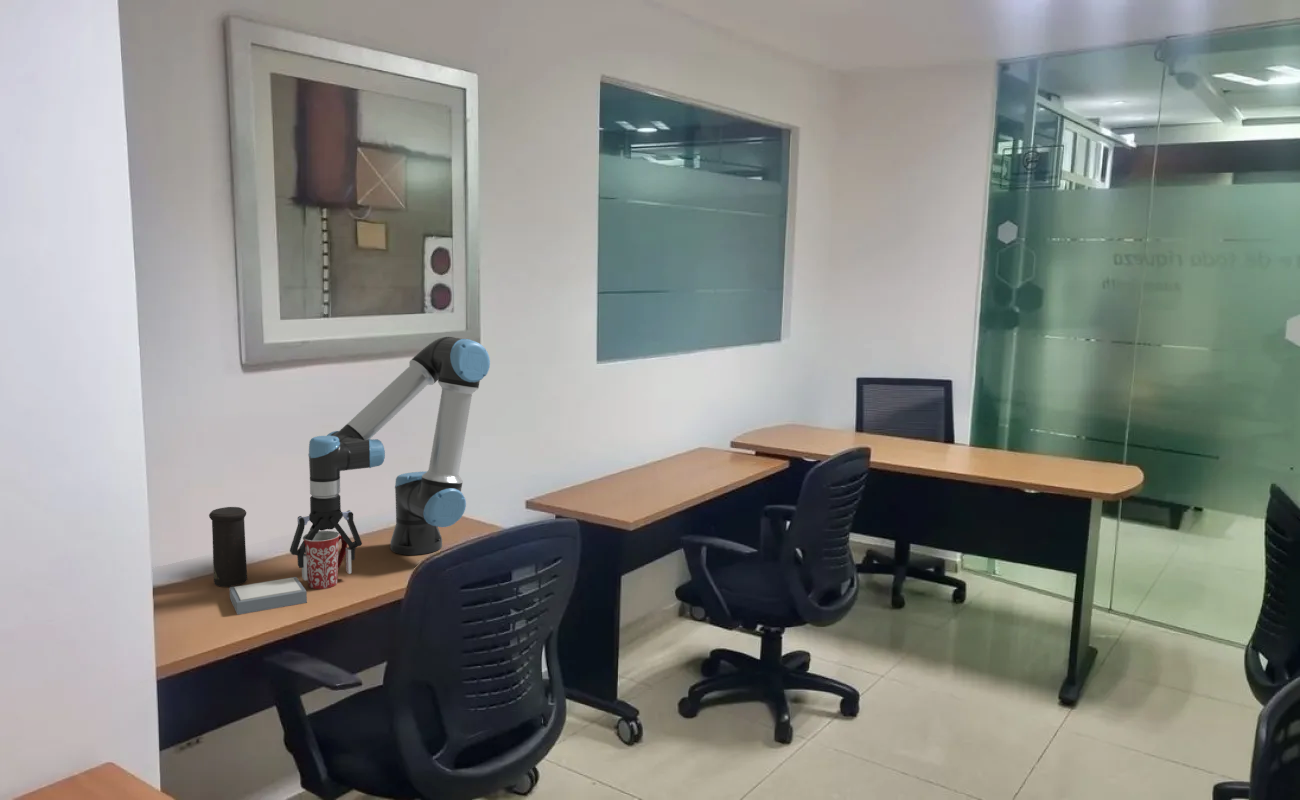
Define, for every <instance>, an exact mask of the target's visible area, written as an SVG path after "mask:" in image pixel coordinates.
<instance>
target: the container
mask: <svg viewBox="0 0 1300 800" xmlns="http://www.w3.org/2000/svg"><path fill="white" fill-rule="evenodd" d="M246 515H247V511H246V510H245V509H244V508H242V507H240V506H239V507H238V506H226V507H225V506H224V507H220V508H215V509H213V510H212V511H211V512H210V513H209V514H208V516H209V519H210V520H211V532H212V564H213V565H212V566H213V569H212V570H213V584H214V585H215V586H217V587H222V588H224V587H226V588H228V587H235V586H241V585H244V584H245V583H247V581H248V566H247V549H246V527H245V517H246Z"/></svg>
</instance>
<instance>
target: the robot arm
mask: <svg viewBox="0 0 1300 800" xmlns="http://www.w3.org/2000/svg"><path fill="white" fill-rule="evenodd" d="M490 365H491V359H490V355H489V352H488V351H487V349H486V348H485V346H484V345H482V344H481V343H479V342H477V341H475V340H472V339H470V338H468V339H467V338H459V337H454V336H443V337H440V338H437V339H435V340H433V341H432V342H431V343H429V344H428V345H426V346H425V347H423V348H422V349H421V350H420V351H419V352H418V353H417V354H415V356H414V357H413V358H411V359H410V360H409V365H408V367H407V368H406V369H405V370H404V371H402V373H400V374H399V375H398V376H397V377H396V378H395V379H394V380H393V381H392V382H391V383H390V384H388V385H387V387H385V388H384V389H383V390H382V391H381V392H380V393H379V394H378V395H376V396H375V398H373V399H372V400H371V401H370V402H369V403H368V404H367V405H366V406H365V407H364V408H362V410H361V411H360V412H358V413H357V414H356V415H355V416H354V417H353V418H352V419H351V420H349V422H347V423H346V424H345V425H344V426H343V427H341V428H340V430H335V431H331V432H329V433H328V434H327V435H318V436H317V435H316V436H313V437H311V439H310V440H309V444H308V464H309V465H308V466H309V495H310V498H309V507H310V511H309V514H308V516H306V515H305V516H302V515H299V516H297V526H296V530H295V532H294V536H293V539H292V541H291V545H290V548H289V553H290V554H291V555H293V556H297V566H298V568H299V569H301V578H302V579H303V581H308V576H307V557H306V555H305V552H306V548H305V544H304V540H303V541H302V542H301V539H302V538H303V533H304V531H305V526H307V525H308V522H310V523H312V525H310V528H309V531H308V533H307V536H306V538H305V539H306V540H311V541H312V540H313V538H314V537H315V535H316V534H317V533H318V531H327V530H334V529H336V532H337V533H339V534H340V536H342V538H343V539H344V540H345V542H346V543H347V548H346V554H345V571H346V572H347V574H349V575H350V574H352V561H354V560H355V559H356V549H357V547H360V546H362V545H363V542H362V540H361V538H360V534H359V532H358V529H357V526H356V525H355V521H354V513H353V512H352V511H351V510H350V509H348V510H347V511H342V509H341V508H342V506H341V495H340V493H341V472H343V471H351V470H361V469H371V468H375V467H380V466H381V465H383V463H384V462H385V457H386V454H385V453H386V452H385V451H386V450H385V446H384V444H383V442H382V441H381V440H380V439H373V437H375V435H376V434H377V433H378V432H379V431H380V430H382V428H383V427H384V426H386V425H387V424H388V422H390V421H391V420H392V419H393V418H394V417H395V416H396V415H398V413H400V411H401V410H403V408H405V407H406V406H407V405H408V404H409V403H410V402H411V401H412V400H413V399H414V398H415V397H416V396H418V395H419V394H420V393H421V392H422V391H423V390H424V389H425V388H426V387H427V386H429V385H430V386H432V385H435V384H436V382H437V383H438V385H439V386H440V387H441V395H440V399H439V404H438V406H439V407H438V412H437V418H436V424H435V430H434V437H433V441H432V442H433V443H432V447H431V453H430V459H429V465H428V470H427V471H415V472H406V473H401V474H399V475H397V476H396V478H395V484H394V489H395V490H394V491H395V494H394V495H395V525H394V526H395V527H394V529H393V532H392V535H391V538H390V551H392V552H393V553H395V554H400V555H404V556H405V555H406V556H407V555H408V556H409V555H410V556H415V555H427V554H430V553H431V554H432V553H434V552H437V551H439V550H441V548H442V547H443V538H442V535H441V532H440V529H439V528H447V527H451V526H453V525H455V523H457V522H458V521H460V519H462V517H463V516H464V514H465V511H466V507H467V502H466V501H467V500H466V498H465V496H464V494H463V492H462V486H463V480H462V478H461V477H460V474H459V473H460V467H461V462H462V456H463V450H464V443H465V437H466V430H467V427H468V426H467V425H468V420H469V414H470V409H471V402H472V397H473V394H474V393H475V392H476V391H478V390H479V387H480V382H481V380H483V379H484V377H486V376H487V375H488V373H489V371H490ZM342 518H343V519H344V520H346V521H347V525H348V527H349V530H350V533H351V535H352V537H353V540H351V538H350V537H349V536H348V534H347V533H346V532H345V530H344V529H343V528H342V526H341V525H340V523H339V522H341V520H342Z"/></svg>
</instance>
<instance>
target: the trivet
mask: <svg viewBox="0 0 1300 800" xmlns="http://www.w3.org/2000/svg"><path fill="white" fill-rule="evenodd" d="M307 594H308V593H307V590H306V588H305V587H304V586H303V584H302V583H301V582H300V579H299V578H298V577H297V576H293V577H287V578H281V579H274V580H268V581H262V582H255V583H249V584H241V585H236V586H230V587H229V600H230V601H231V604H232V606H233V608H234V611H235V612H236V615H237V616H239V615H243V614H250V613H255V612H256V613H257V612H260V611H261V612H262V611H266V610H272V609H279V608H285V607H290V606H295V605H301V604H306V603H308V597H307Z"/></svg>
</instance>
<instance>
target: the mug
mask: <svg viewBox="0 0 1300 800" xmlns="http://www.w3.org/2000/svg"><path fill="white" fill-rule="evenodd" d="M307 534H308V533H307ZM307 534H305V535H302V539H303V541H304V544H305V548H306V552H305V555H306V557H307V586H308V587H309V588H311V589H314V590H324V589H329V588H333V587H334V586H337V584H338V577H339V576H338V574H339V573H338V571H339V569H340V567H341V565H342V564H343V561H344V559H345V557H346V548H347V547H348V544H347V543H346V542H345V540H344V539H343V538H342V536H341V535H340V534H339V533H338V531H333V530H322V531H321V530H319V531H318V533H317V534H316V535H315V537H314V538H313V540H312V541H311V540H306V539H305V538H306V536H307ZM339 541H341V547H340V552H339Z"/></svg>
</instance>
